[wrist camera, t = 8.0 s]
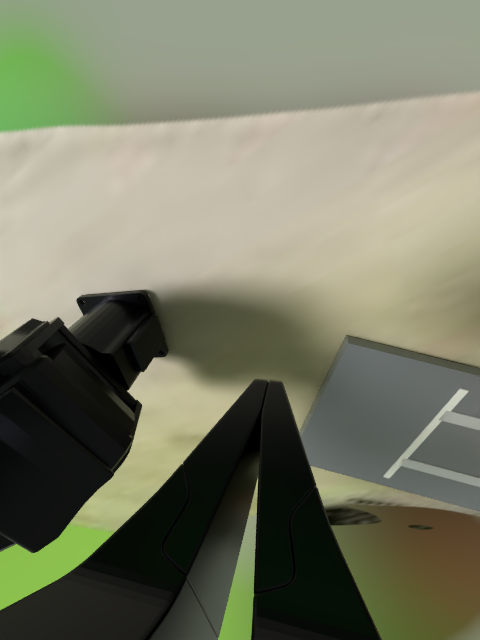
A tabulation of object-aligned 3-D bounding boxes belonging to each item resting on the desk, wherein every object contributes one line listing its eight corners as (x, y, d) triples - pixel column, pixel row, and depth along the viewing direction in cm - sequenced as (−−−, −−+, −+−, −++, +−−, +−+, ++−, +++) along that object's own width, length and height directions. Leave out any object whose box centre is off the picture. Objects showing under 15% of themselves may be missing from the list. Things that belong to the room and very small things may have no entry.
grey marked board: (289, 451, 32) (289, 460, 31) (346, 335, 23) (348, 343, 22) (515, 512, 30) (522, 523, 30) (668, 415, 22) (684, 428, 21)
